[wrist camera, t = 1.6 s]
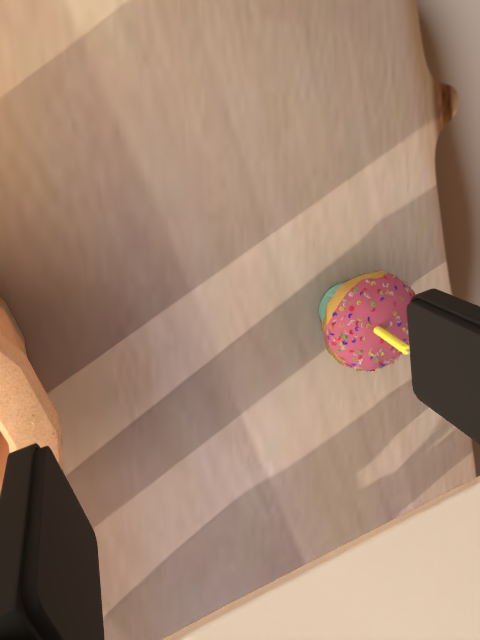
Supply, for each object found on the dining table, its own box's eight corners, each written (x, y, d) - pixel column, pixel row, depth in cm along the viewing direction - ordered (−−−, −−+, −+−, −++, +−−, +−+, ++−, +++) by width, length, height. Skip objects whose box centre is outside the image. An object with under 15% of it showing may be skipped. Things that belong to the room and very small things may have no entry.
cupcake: (288, 342, 41) (364, 409, 31) (317, 250, 39) (409, 288, 29) (364, 353, 45) (457, 417, 34) (394, 270, 43) (503, 310, 32)
